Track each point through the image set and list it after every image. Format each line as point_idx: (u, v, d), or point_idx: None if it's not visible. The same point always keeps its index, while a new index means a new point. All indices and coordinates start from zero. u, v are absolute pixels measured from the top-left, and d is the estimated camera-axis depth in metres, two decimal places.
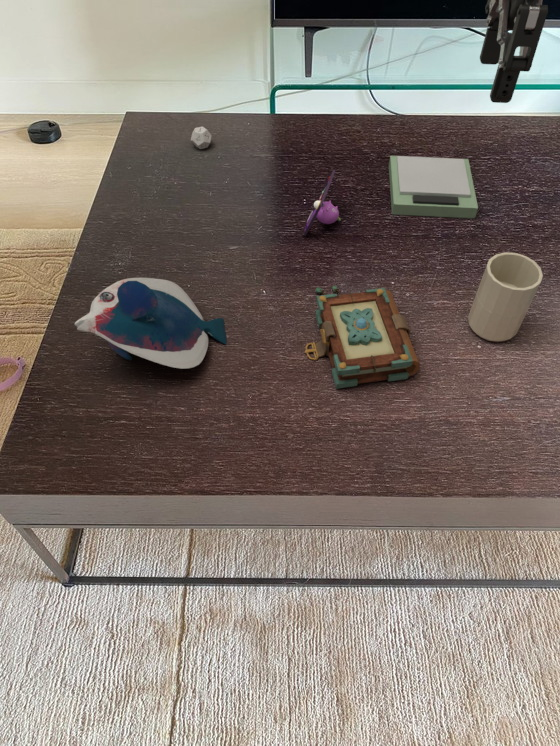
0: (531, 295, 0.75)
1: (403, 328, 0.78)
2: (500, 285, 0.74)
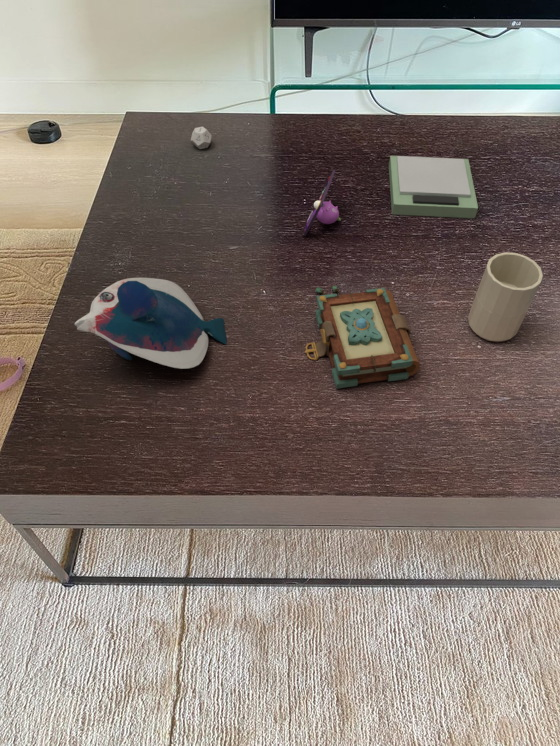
0: (531, 295, 0.75)
1: (403, 328, 0.78)
2: (500, 285, 0.74)
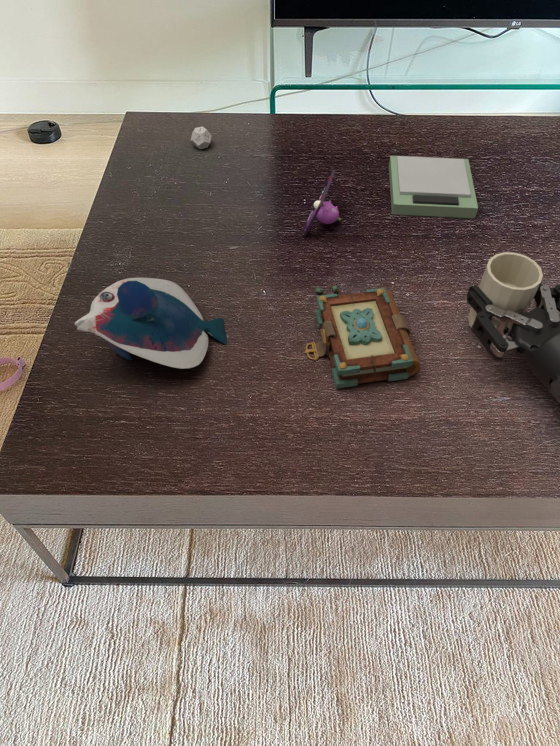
0: (531, 295, 0.75)
1: (403, 328, 0.78)
2: (500, 285, 0.74)
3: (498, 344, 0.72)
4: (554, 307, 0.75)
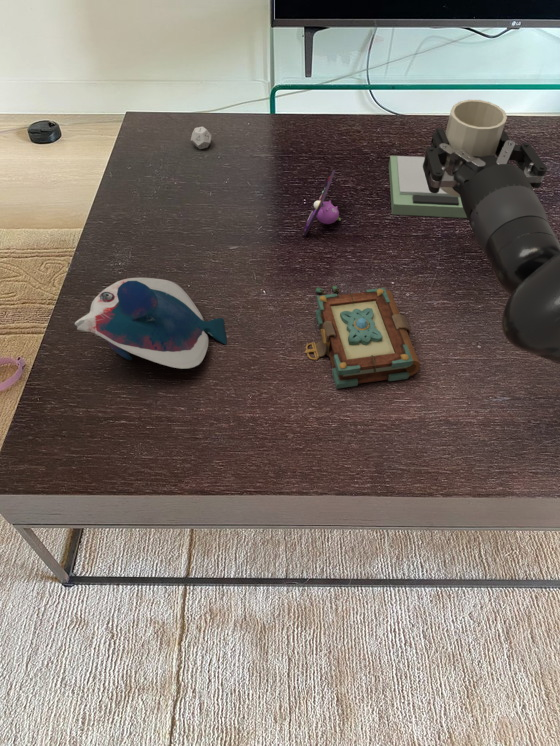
0: (488, 139, 0.74)
1: (403, 328, 0.78)
2: (456, 121, 0.74)
3: (433, 172, 0.73)
4: (507, 155, 0.74)
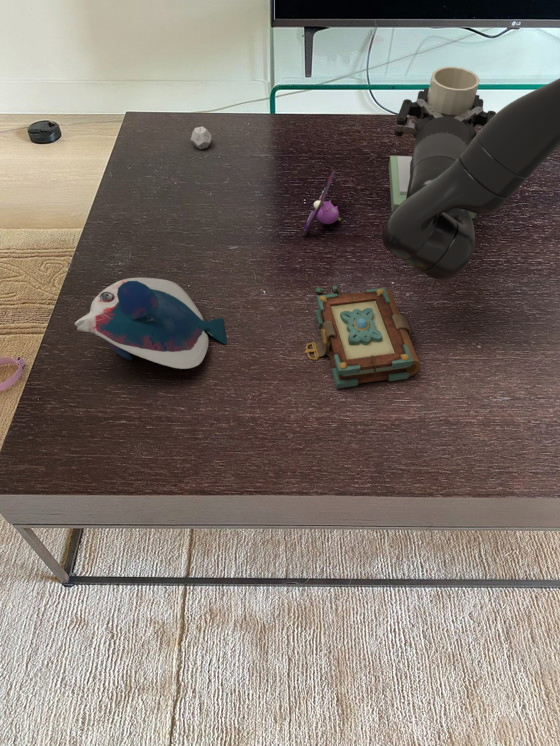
0: (455, 100, 0.86)
1: (403, 328, 0.78)
2: (432, 80, 0.87)
3: (397, 117, 0.86)
4: (467, 116, 0.85)
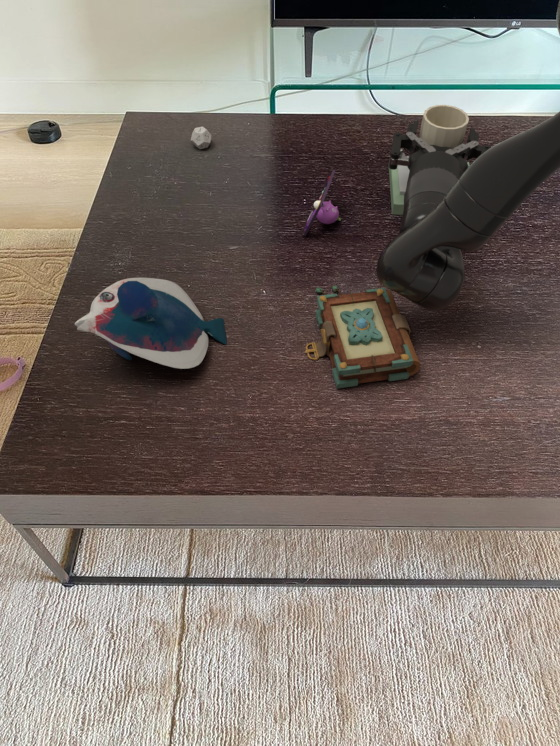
0: (446, 138, 0.91)
1: (403, 328, 0.78)
2: (424, 119, 0.92)
3: (392, 151, 0.90)
4: (460, 150, 0.89)
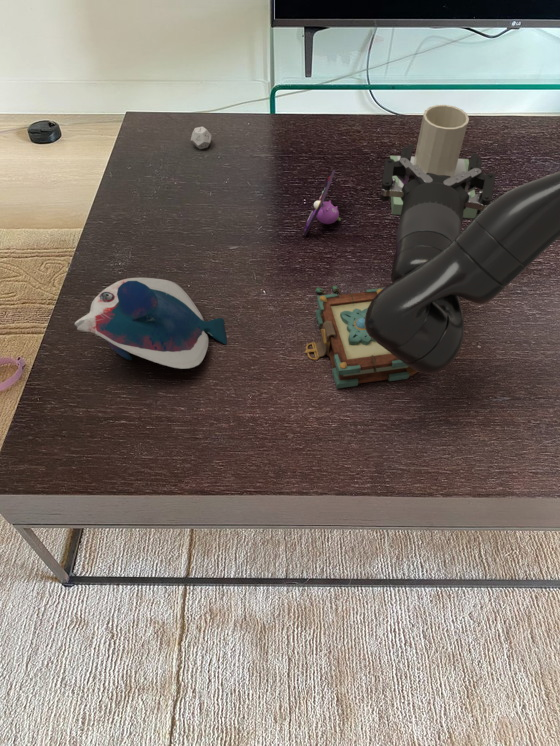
0: (446, 138, 0.91)
1: None
2: (424, 119, 0.92)
3: (383, 181, 0.79)
4: (460, 179, 0.79)
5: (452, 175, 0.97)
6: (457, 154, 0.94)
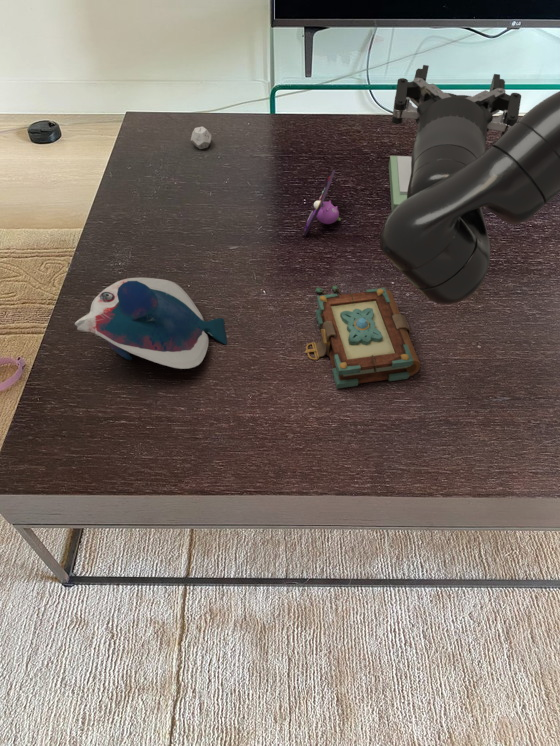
0: None
1: (403, 328, 0.78)
2: None
3: (395, 100, 0.71)
4: (483, 97, 0.70)
5: None
6: None
